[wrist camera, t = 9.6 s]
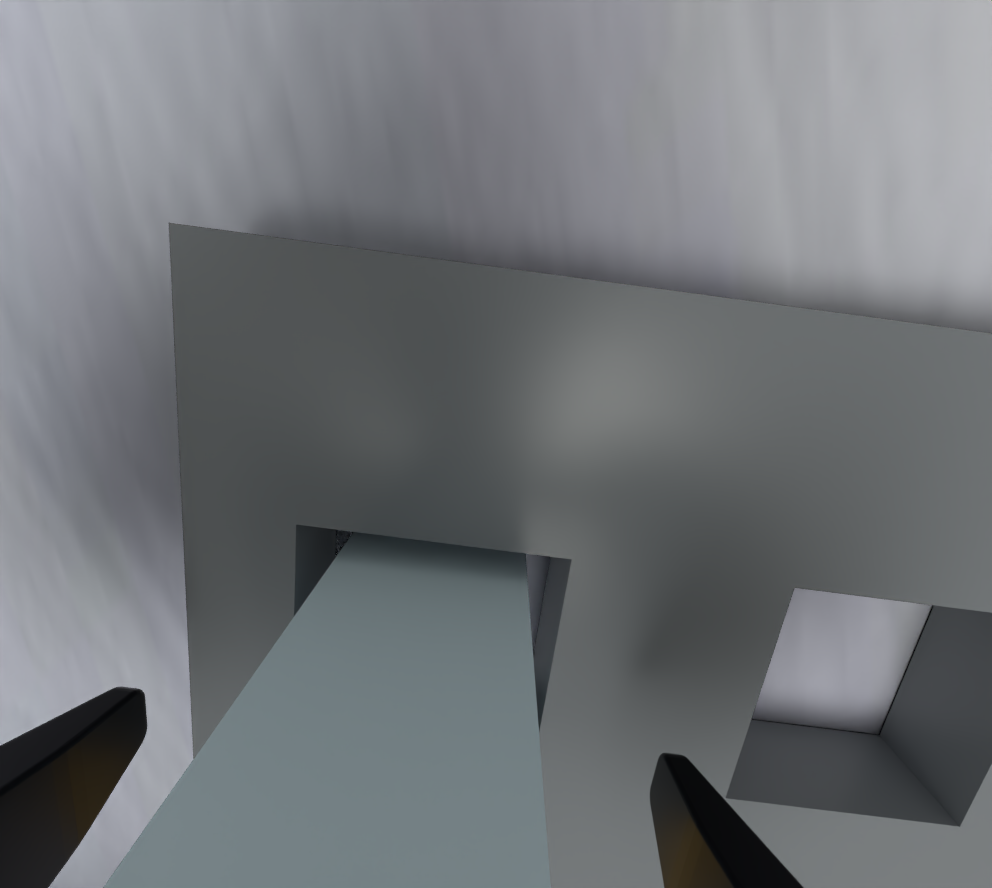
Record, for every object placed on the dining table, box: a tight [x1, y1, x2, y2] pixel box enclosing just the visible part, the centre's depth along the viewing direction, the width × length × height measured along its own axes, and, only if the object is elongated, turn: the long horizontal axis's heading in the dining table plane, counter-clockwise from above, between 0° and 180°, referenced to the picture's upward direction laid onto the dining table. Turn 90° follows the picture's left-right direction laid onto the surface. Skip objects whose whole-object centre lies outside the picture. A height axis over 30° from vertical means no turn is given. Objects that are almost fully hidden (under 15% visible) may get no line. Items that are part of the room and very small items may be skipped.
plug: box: [103, 532, 551, 888], centre depth 8 cm, size 4×4×10 cm
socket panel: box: [169, 223, 992, 888], centre depth 11 cm, size 16×20×3 cm
